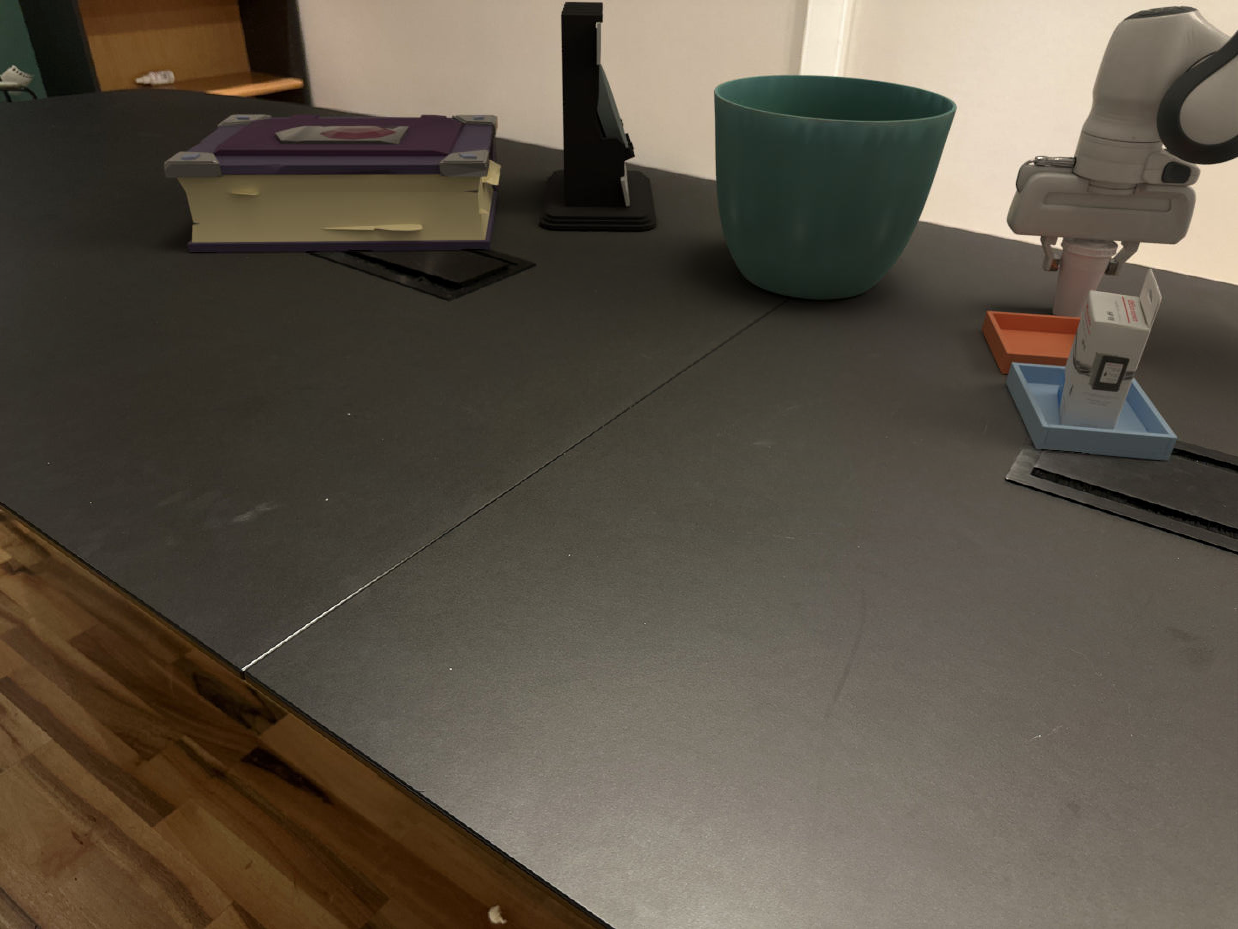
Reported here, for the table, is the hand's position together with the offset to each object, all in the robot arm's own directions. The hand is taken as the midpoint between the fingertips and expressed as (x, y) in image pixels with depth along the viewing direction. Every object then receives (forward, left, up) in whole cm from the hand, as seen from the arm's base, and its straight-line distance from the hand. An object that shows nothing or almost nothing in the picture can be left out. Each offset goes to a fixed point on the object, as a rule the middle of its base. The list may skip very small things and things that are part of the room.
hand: (1080, 272), depth 113 cm
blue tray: (+6, +29, -6) cm, 30 cm away
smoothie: (0, 0, -6) cm, 6 cm away
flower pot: (+33, -7, -6) cm, 34 cm away
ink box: (+6, +29, -5) cm, 30 cm away
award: (+68, -36, -6) cm, 77 cm away
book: (+104, -20, -6) cm, 106 cm away
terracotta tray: (+6, +14, -6) cm, 16 cm away
